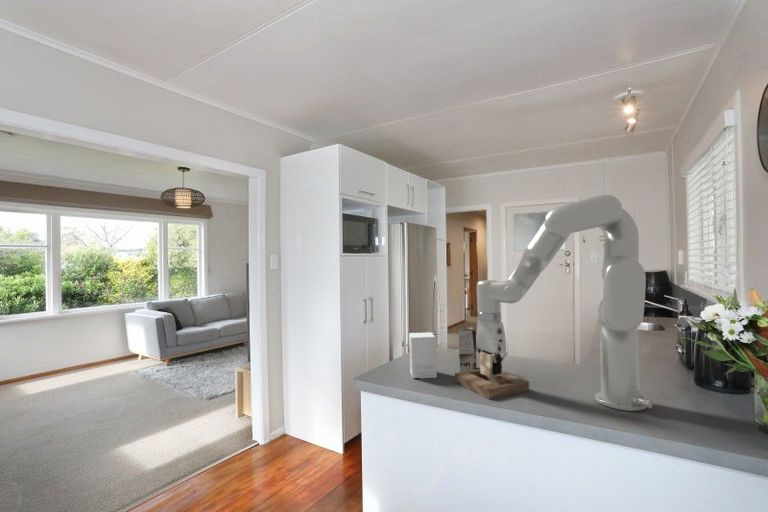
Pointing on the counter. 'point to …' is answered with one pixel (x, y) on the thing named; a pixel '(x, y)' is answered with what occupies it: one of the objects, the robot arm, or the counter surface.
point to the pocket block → (491, 384)
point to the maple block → (487, 364)
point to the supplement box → (422, 355)
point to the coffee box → (467, 348)
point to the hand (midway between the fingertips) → (491, 371)
